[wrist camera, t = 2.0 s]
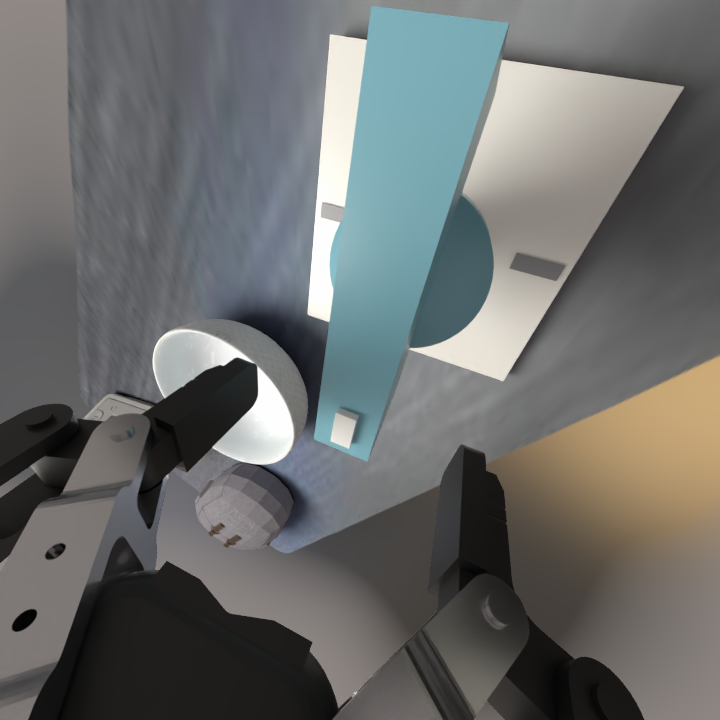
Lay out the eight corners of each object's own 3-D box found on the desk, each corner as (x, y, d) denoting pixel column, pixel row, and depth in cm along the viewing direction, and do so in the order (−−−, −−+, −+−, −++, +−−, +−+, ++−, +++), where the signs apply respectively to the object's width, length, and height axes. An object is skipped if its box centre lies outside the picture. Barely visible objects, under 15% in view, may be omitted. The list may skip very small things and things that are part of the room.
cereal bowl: (352, 374, 30) (324, 418, 25) (290, 441, 40) (259, 484, 34) (221, 269, 29) (159, 291, 23) (191, 365, 39) (142, 397, 33)
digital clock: (189, 414, 46) (123, 468, 37) (195, 448, 51) (138, 502, 42) (108, 376, 48) (29, 418, 39) (122, 412, 53) (55, 456, 45)
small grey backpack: (268, 527, 58) (316, 500, 46) (240, 572, 52) (288, 554, 40) (208, 481, 57) (242, 442, 45) (172, 522, 50) (201, 487, 38)
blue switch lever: (376, 92, 12) (248, -17, 5) (553, 124, 11) (677, 34, 4) (338, 337, 19) (261, 423, 12) (442, 373, 18) (421, 491, 11)
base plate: (338, 42, 17) (264, -30, 11) (670, 93, 14) (811, 29, 8) (313, 310, 28) (268, 346, 22) (502, 373, 25) (510, 435, 19)
